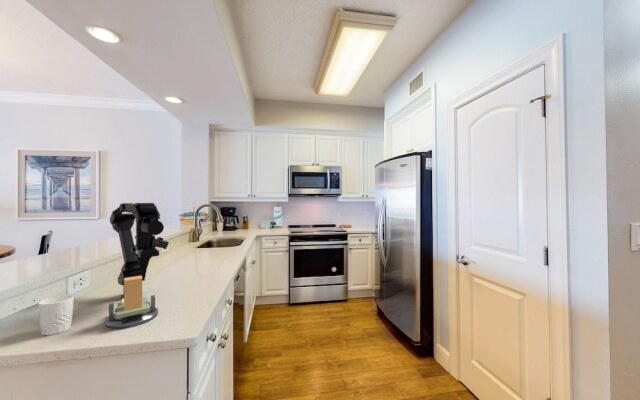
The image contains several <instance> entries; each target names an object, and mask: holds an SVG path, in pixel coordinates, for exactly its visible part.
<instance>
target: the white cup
mask: <svg viewBox="0 0 640 400" xmlns="http://www.w3.org/2000/svg"><path fill="white" fill-rule="evenodd" d="M74 301H75V296H74V295H73V294H65V295H64V294H63V295H56V296H52V297H48V298H44V299H42V300H40V301H39V302H38V318H39V327H40V335H41V336H44V335H47V336H53V334H54V335H58V334H61V333H64V332H66V331H68V330H69V329H70V328H72V324H73V323H72V319H73V313H74V312H73V311H74ZM63 331H64V332H63ZM57 333H58V334H57Z"/></svg>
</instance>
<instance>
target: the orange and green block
mask: <svg viewBox="0 0 640 400" xmlns="http://www.w3.org/2000/svg"><path fill="white" fill-rule="evenodd" d="M149 306H151V301H149V300H148V297H147V296H146V297H143V281H142V276H135V277H128V278H124V298H122V299H120V302H117V303H116V308H114V314H115V313H116V319H117V318H122V317H126V316H131V315H135V314H140V313H144V312H149V311H150V308H149Z"/></svg>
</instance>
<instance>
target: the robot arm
mask: <svg viewBox="0 0 640 400" xmlns="http://www.w3.org/2000/svg"><path fill="white" fill-rule="evenodd" d="M160 216H161V214H160V211H159V209H158V208H157V205H156V204H155V203H154V202H135V203H132V202H122V203H120V204H119V206H118V207H117V208H116V209H114V210H112V212H111V214H110V216H109V217H110V218H109V223H110V225H111V227H112V229H113V230H114V231H115V232H116V233H118V237H119V243H120V247H121V252H122V257H123V258H122V259H123V262H124V263H123V264H122V266H121V268H120V273H119V276H117V285H120V286H122V289H123V293H122V294H121V295H120V297H121V298H122V299H123V298H124V278H128V277H135V276H142V282H143V281H145V279H146V275H147V270H148V267H149V263H150V260H151V259H152V258H153V257H158V256H160V250H159V249H157V248H161V249H164V250H167V248H168V246H169V243H170V241H168V240H164V238H163V237H159V236H158V235H161V234H162V233H163V232H164V228H165V226H164V224H163V222H162V221H160V220H161V217H160ZM134 224H135V227H136V228H135V235H134V237H133V233H132V228H133V226H134ZM156 236H158V237H157V238H156ZM134 239H135V242H134Z"/></svg>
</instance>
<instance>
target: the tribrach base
mask: <svg viewBox="0 0 640 400" xmlns="http://www.w3.org/2000/svg"><path fill="white" fill-rule="evenodd" d="M114 307H115V304H114V302H112V303H111V302H110V303H109V304H108V317H107V318H106V319H105V321H104V327H106V329H110V330H111V329H112V330H121V329H123V330H124V329H129V328H134V327H137V326H141V325H144V324H145V323H148V322H150V321H152V320H154V319H155V318H156V317H157V316H158V315H159V309H158V308H157V307H156V296H155V295H151V296H150V305H149V308H150V311H149V312H144V313H140V314H135V315H131V316H126V317H122V318H117V319H116V313H115V308H114Z"/></svg>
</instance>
